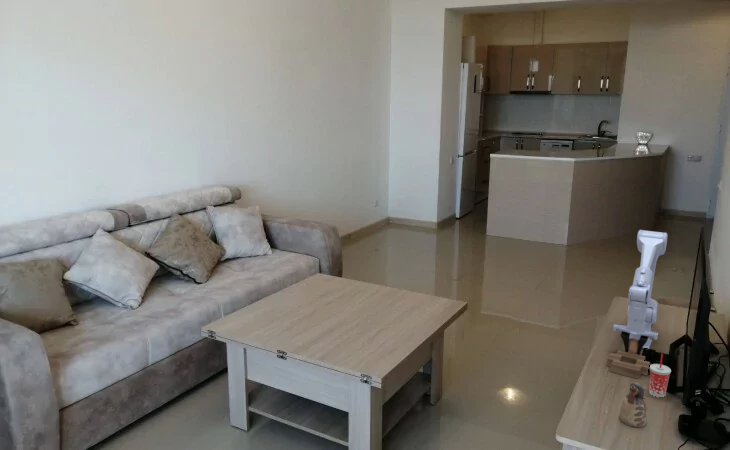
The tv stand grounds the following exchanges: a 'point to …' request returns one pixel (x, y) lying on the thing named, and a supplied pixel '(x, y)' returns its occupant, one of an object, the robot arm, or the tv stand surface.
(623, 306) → the tv stand surface
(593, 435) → the tv stand surface
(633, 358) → the socket block
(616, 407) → the tv stand surface
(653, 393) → the beverage cup
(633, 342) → the peg
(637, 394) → the figurine
